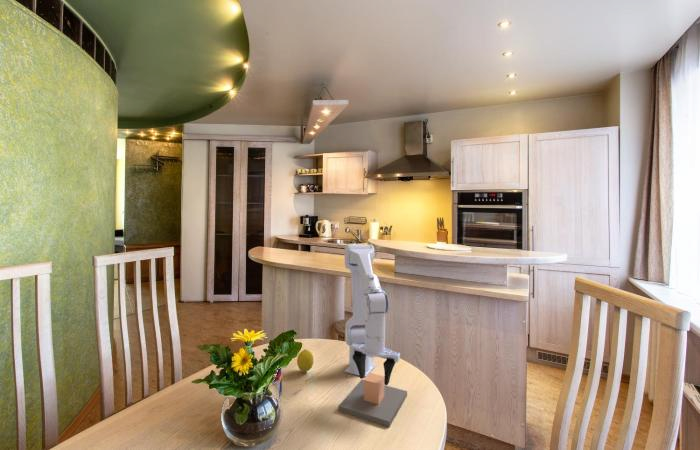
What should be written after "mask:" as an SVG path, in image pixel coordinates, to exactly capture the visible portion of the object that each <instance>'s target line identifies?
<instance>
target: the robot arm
mask: <svg viewBox="0 0 700 450" xmlns="http://www.w3.org/2000/svg"><path fill="white" fill-rule="evenodd" d="M374 259H375V247H374V245H373V244H371V243H370V244H346V245H345V246H344V265H345V266H344V267H345V268H346V269H348V270H349V271H350V277H351V297H352V298H351V302H352V303H351V304H352V316H351V317H350V318H349V319H348V320H347V321H346V322H345V328H344V340H345V344H346V345H348V346H349V352H348V353H349V355H348V358H349V360H348V363H349V364H348V366H347V368H345V370H344V373H347V374H350V375H351V374H352V375H355V376H358V377H359V378H360V379H361V380H362V379H364V378H366V377H367V376H368V375H369V374H370V373H371V371H372V370H373V369H374V368H375V367H376V363H374V358H376V357H377V358H381V359H385V361H384V362H383V363H382V364H383V369H384V370H383V371H384V376H385V379H384V384H385V385H386V386H389V383H390V379H391V376H392V372H393V369H394V368H395V365H396V363H399V362H400V361H401V352H396V351H393V350H392V349H389V348H387V347H386V314H387V313H388V311H389V296H388V295H387V292H385V290H384V289H382V287H381V284H380V280H379V277H378V276H377V275H376V274H374V271H373V265H372V264H373V263H374Z"/></svg>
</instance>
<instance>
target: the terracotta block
mask: <svg viewBox="0 0 700 450" xmlns="http://www.w3.org/2000/svg"><path fill="white" fill-rule="evenodd" d="M384 379H385V375H381V374H376V373H372V372H369V374H368V375H367V376H366V377H364V378H363V380H364V400H365V401H368V402H372V403H375V404H379V403H380V402H381V400H382V399H383V397H384V386H385V384H384Z"/></svg>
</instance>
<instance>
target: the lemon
mask: <svg viewBox="0 0 700 450" xmlns="http://www.w3.org/2000/svg"><path fill="white" fill-rule="evenodd" d="M296 362H297V363H296V364H297V367H298V369H299V370H300V371H302V372H304V373H307V372H308V371H310V370H311V369H312V368H313V365H314V356H313V353H312V352H311V351H310V350H308V349H306V348H305V349H304V350H301V351H299V353H298V356H297V361H296Z"/></svg>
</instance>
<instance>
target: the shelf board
mask: <svg viewBox="0 0 700 450" xmlns="http://www.w3.org/2000/svg"><path fill="white" fill-rule="evenodd" d="M407 397H408V391H407V390H405V389H400V388H396V387H393V386H390V385H385V386H384V397H383V399H382V400H381V402H380V403H379V404H375V403H372V402H368V401H365V400H364V378H362V379H361V380H359V382H358V383H357V384H356V385H355V387H354V388H353V389H352V390H351V391H350V392H349V394H347V396H346V397H345V398H344V399H343V400H342V401H341V403H339V405H338V412H340V413H344V414H347V415H350V416H353V417H355V418H360V419H363V420H364V421H369V422H372V423H376V424H378V425H381V426H385V427H387V428H390V427H391V425H392V424H393V421H394V420H395V418H396V416H397V415H398V413H399V411H400V410H401V408H402V405H403V404H404V403H405V401H406V398H407Z"/></svg>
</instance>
